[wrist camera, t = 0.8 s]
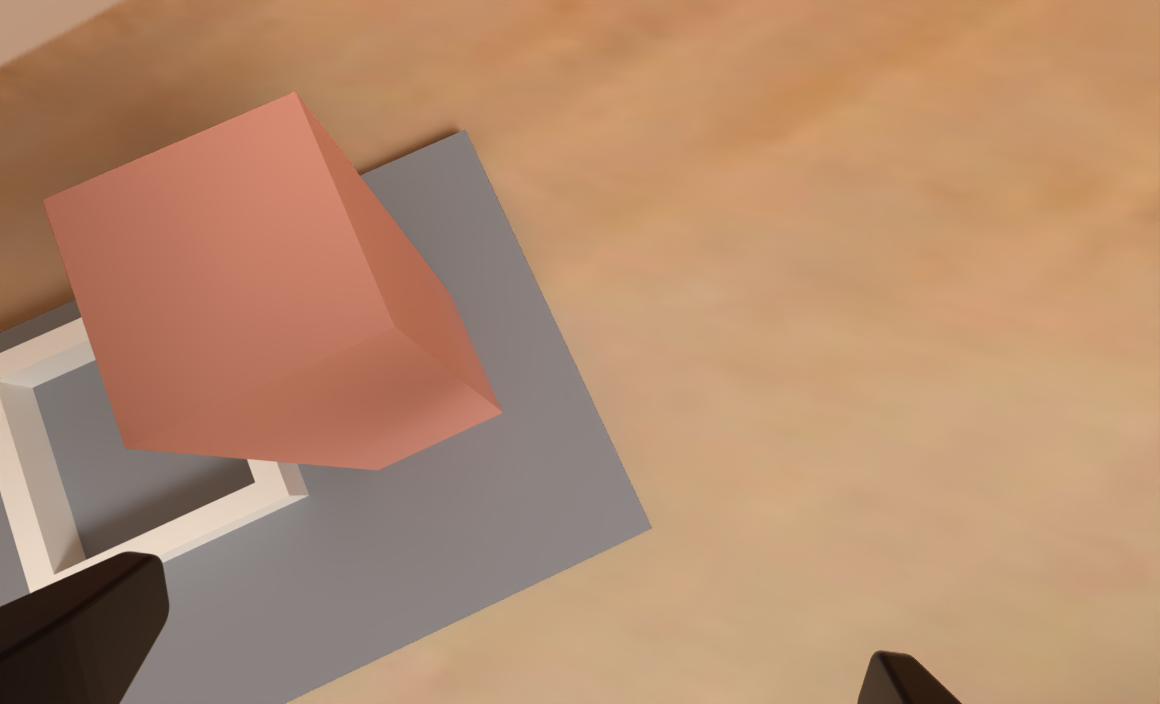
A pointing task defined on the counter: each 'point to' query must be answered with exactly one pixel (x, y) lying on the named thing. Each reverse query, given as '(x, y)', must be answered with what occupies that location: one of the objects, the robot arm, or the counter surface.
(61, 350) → the grey base plate
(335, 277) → the red post
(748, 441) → the counter surface
